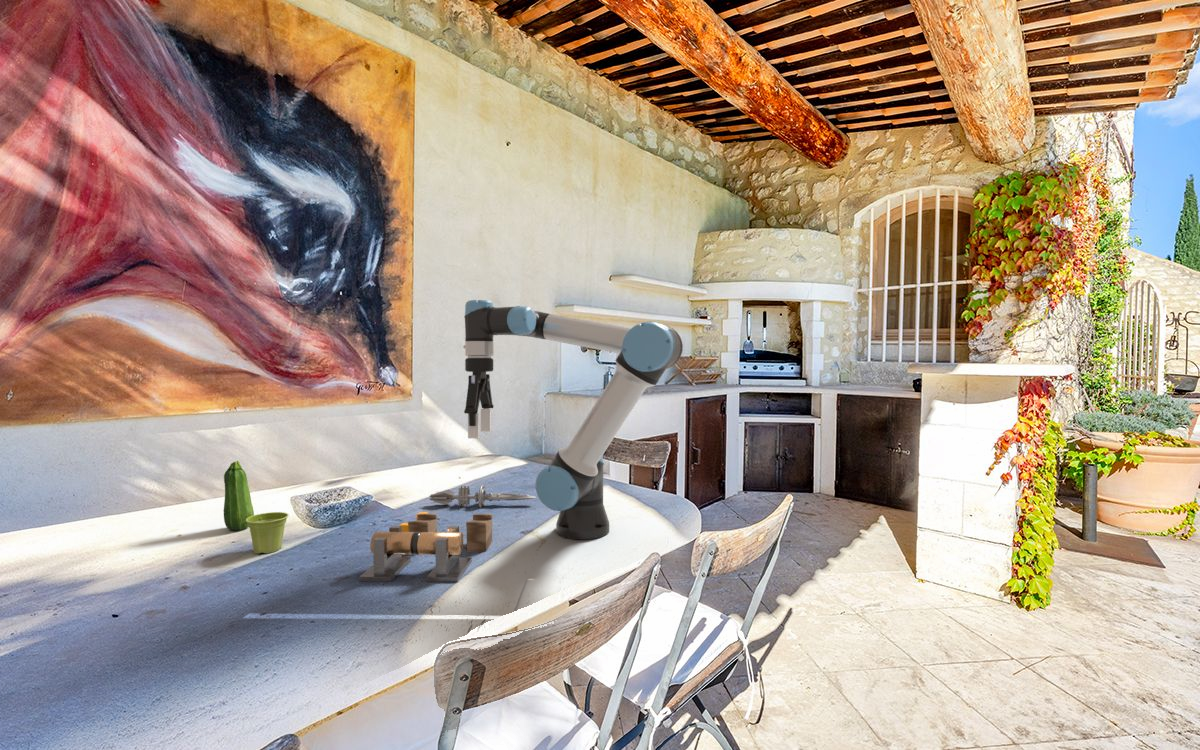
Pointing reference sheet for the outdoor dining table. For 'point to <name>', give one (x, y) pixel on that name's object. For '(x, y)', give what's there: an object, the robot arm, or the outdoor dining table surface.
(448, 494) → the spaceship
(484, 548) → the walnut rest
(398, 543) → the tube
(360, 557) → the outdoor dining table surface
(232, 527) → the vegetable
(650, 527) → the outdoor dining table surface
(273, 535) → the plant pot
